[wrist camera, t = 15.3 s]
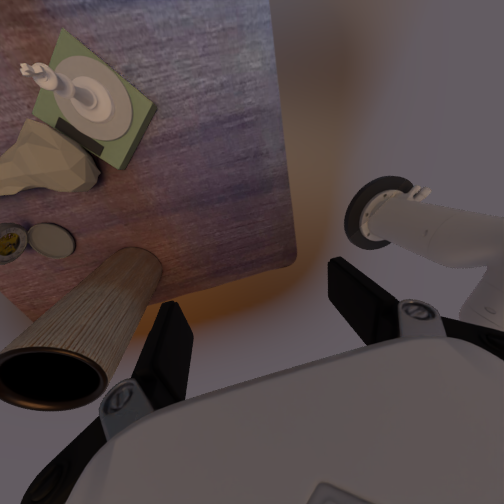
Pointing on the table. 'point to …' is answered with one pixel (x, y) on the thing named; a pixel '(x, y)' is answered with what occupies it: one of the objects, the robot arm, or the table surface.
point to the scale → (79, 128)
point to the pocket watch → (34, 241)
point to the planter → (80, 336)
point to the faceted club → (46, 162)
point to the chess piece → (75, 92)
